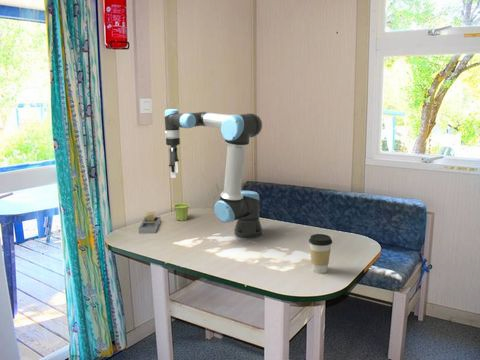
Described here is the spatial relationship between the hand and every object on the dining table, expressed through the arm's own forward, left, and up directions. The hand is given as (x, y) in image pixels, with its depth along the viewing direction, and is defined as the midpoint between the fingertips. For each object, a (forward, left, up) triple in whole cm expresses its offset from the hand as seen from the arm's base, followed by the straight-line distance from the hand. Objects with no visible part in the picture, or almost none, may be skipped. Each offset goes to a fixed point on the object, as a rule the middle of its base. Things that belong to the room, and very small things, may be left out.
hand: (174, 175), depth 256 cm
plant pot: (-2, -8, -29) cm, 30 cm away
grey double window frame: (+14, +5, -28) cm, 32 cm away
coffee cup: (-68, +70, -29) cm, 102 cm away
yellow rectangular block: (+15, 0, -29) cm, 32 cm away
